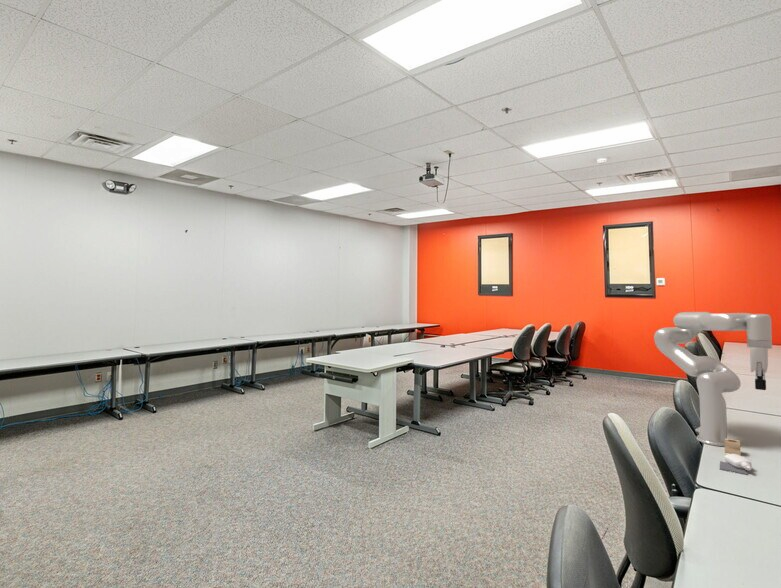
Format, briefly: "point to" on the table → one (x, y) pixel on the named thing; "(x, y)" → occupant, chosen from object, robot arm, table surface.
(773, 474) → the table surface
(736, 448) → the oak cube
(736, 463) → the eye dropper bottle
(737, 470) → the mat
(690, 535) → the table surface
